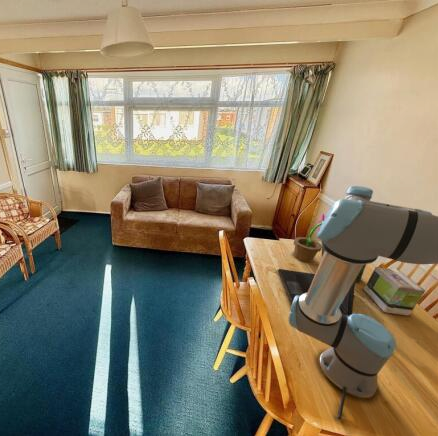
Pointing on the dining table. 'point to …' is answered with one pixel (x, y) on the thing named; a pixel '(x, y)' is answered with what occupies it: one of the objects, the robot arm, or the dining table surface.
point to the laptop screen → (347, 297)
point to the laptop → (297, 283)
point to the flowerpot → (307, 245)
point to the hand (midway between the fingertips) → (327, 267)
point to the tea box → (393, 291)
